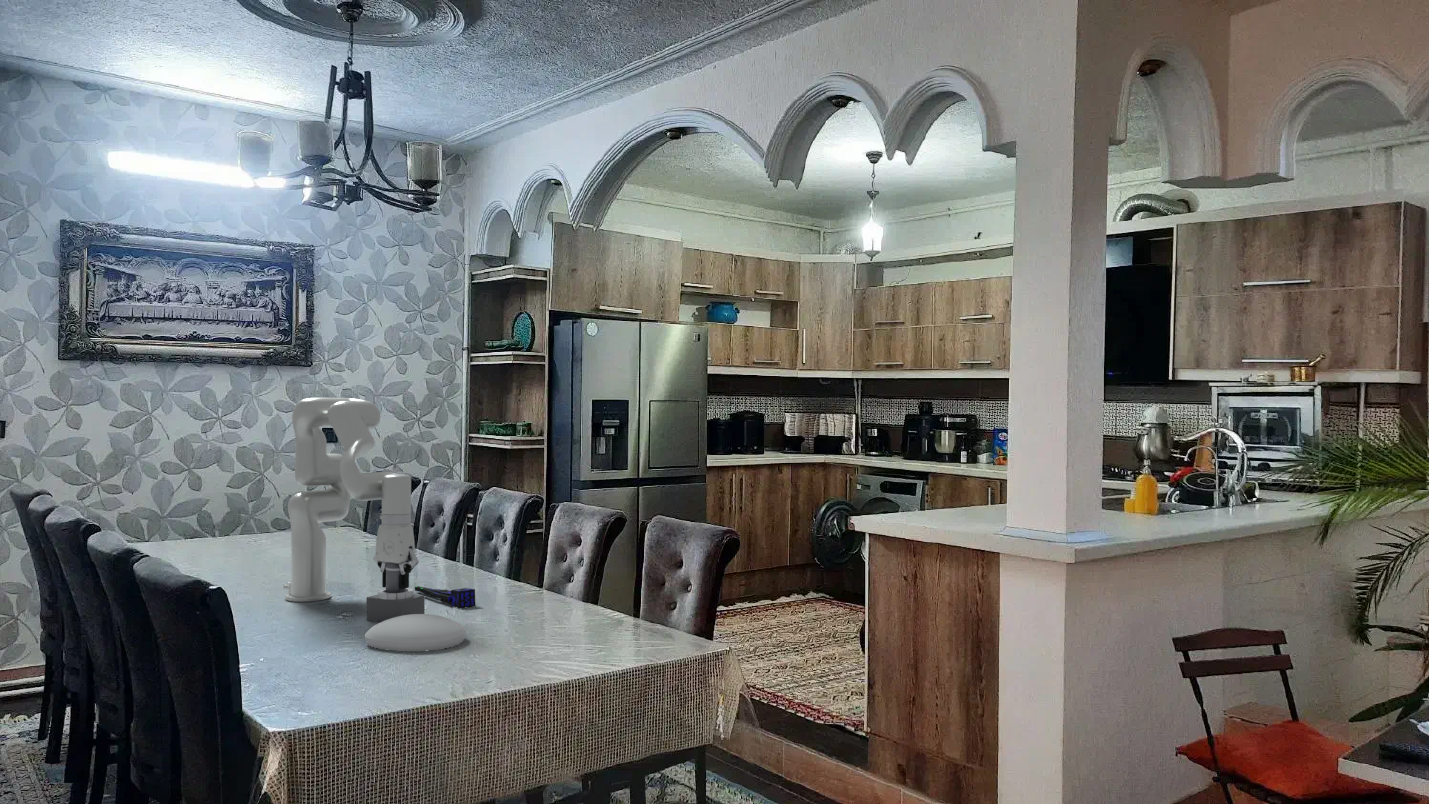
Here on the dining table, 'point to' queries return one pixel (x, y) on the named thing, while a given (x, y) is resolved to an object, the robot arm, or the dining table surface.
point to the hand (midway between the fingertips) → (395, 586)
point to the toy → (451, 596)
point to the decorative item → (416, 633)
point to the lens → (393, 578)
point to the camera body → (394, 605)
